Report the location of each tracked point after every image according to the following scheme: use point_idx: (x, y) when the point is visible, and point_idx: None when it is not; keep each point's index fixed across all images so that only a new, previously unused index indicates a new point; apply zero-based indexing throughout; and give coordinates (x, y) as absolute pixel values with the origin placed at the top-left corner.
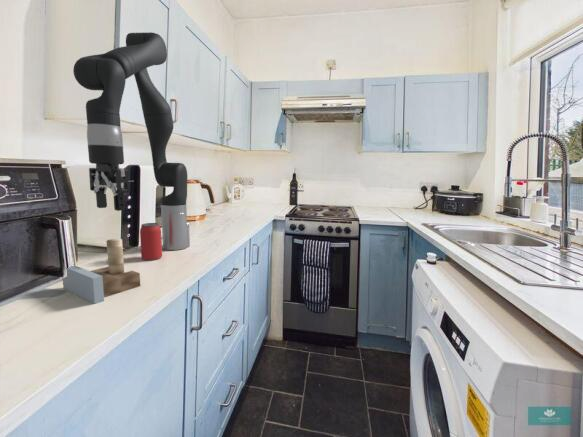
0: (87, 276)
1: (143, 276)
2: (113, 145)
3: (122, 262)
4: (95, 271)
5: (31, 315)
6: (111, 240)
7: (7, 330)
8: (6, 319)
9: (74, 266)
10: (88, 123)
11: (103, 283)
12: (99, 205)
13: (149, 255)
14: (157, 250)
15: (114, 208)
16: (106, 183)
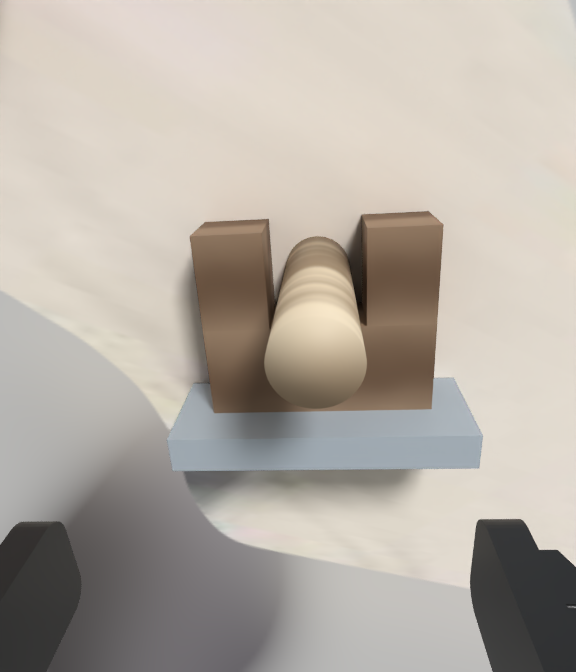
0: (429, 468)
1: (307, 122)
2: None
3: (348, 283)
4: (234, 345)
5: (373, 528)
6: (306, 379)
7: (423, 577)
8: (347, 563)
9: (231, 446)
10: None
11: (431, 391)
12: (64, 609)
13: None
14: None
15: (479, 619)
16: None
